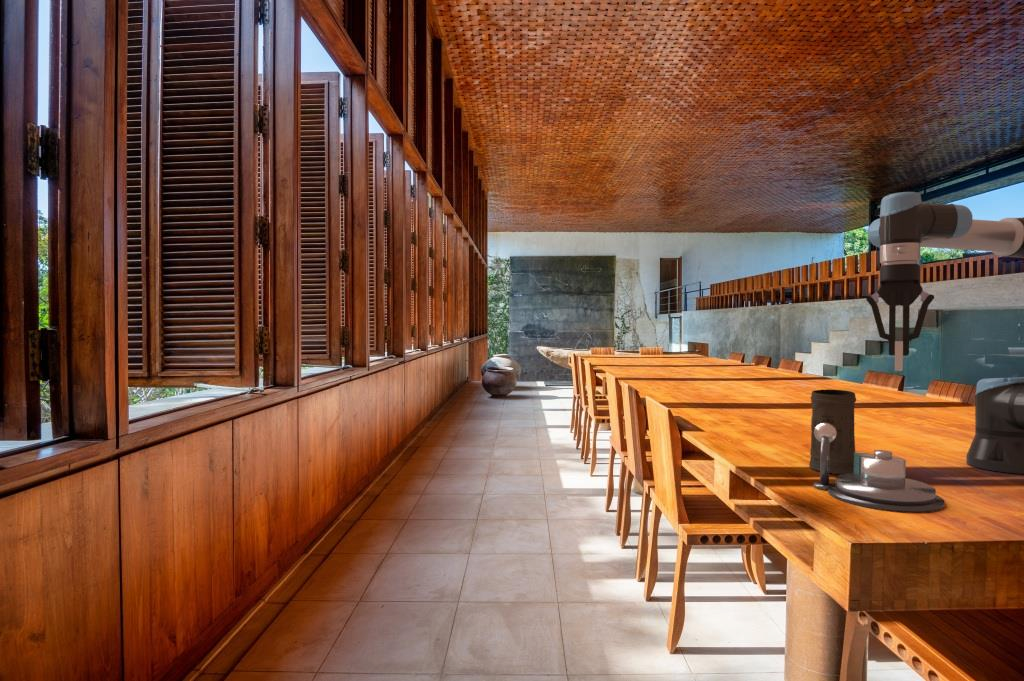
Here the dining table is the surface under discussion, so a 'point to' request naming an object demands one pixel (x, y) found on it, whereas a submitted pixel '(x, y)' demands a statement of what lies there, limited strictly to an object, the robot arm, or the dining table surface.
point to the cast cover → (883, 470)
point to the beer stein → (840, 414)
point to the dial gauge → (824, 452)
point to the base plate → (924, 508)
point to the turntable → (909, 496)
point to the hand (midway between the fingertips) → (898, 370)
